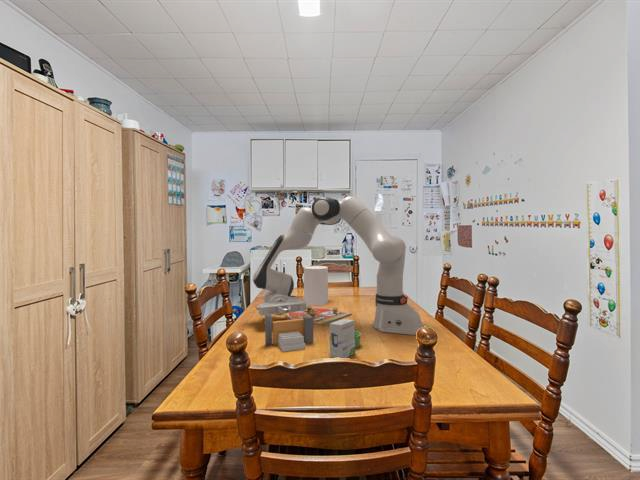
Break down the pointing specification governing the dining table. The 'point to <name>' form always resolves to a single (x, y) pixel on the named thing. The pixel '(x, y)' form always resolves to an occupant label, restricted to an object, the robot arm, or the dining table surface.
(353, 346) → the ink box
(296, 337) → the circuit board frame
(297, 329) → the tan wooden panel
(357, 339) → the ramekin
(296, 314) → the knob puzzle
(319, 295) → the canister
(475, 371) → the dining table surface
